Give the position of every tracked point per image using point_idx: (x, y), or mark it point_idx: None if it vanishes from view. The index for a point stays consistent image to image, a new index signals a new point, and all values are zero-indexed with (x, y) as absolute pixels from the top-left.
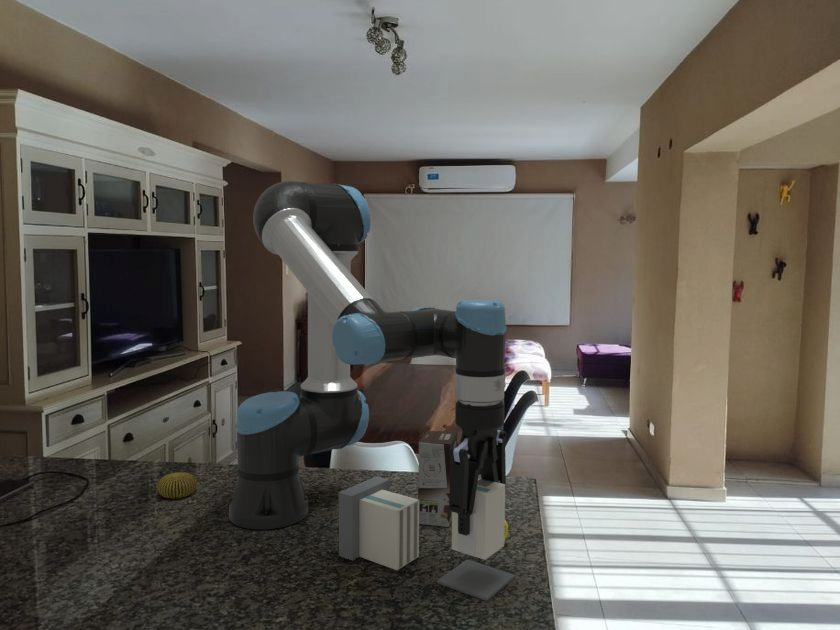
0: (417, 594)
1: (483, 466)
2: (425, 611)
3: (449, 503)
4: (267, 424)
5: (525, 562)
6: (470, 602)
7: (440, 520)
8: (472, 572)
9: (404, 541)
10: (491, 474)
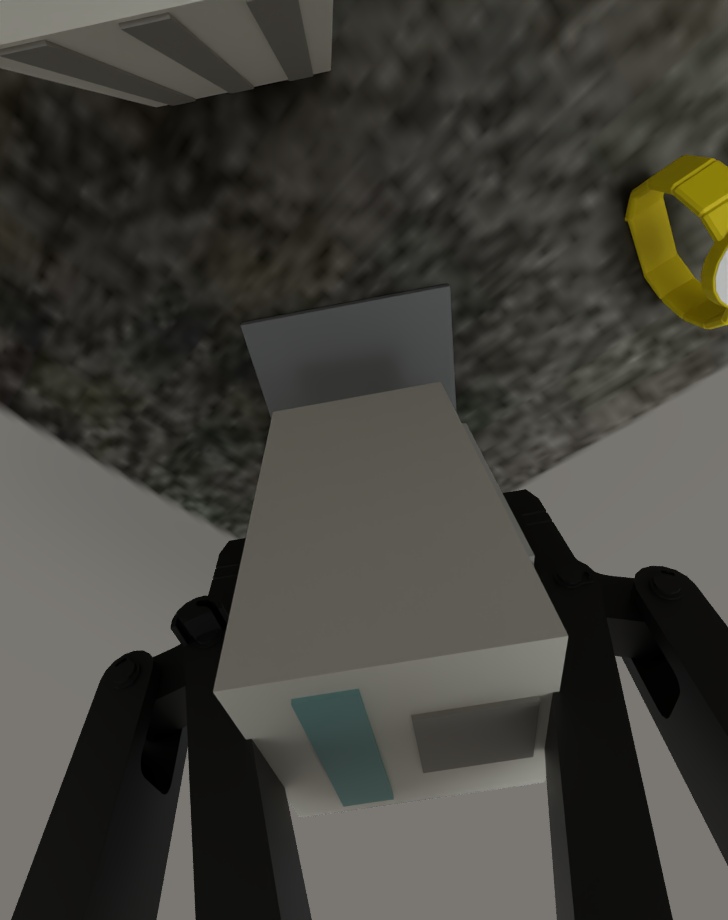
0: (136, 330)
1: (563, 886)
2: (109, 417)
3: (90, 713)
4: None
5: (563, 419)
6: (254, 461)
7: None
8: (380, 369)
9: (177, 80)
10: (551, 818)
